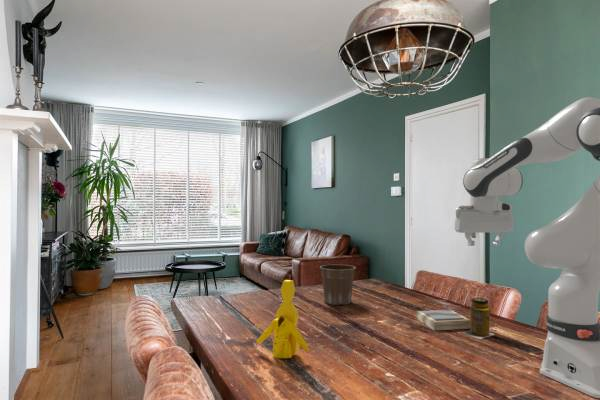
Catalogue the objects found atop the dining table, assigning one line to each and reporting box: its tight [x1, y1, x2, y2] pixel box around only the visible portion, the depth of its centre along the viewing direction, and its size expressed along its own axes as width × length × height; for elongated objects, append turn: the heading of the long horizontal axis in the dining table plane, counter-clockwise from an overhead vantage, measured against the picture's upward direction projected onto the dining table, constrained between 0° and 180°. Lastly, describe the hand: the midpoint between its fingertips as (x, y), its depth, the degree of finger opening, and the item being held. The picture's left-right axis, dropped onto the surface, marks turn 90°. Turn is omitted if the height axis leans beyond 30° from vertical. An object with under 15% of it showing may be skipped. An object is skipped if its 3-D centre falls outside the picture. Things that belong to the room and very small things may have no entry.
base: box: [416, 309, 470, 331], centre depth 150 cm, size 14×14×3 cm
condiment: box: [461, 297, 496, 340], centre depth 138 cm, size 7×8×12 cm
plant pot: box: [319, 264, 356, 306], centre depth 182 cm, size 16×16×16 cm
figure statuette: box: [255, 279, 310, 360], centre depth 120 cm, size 18×8×22 cm, turn 64°
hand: (483, 245), depth 138 cm, fingers open, 8 cm apart
